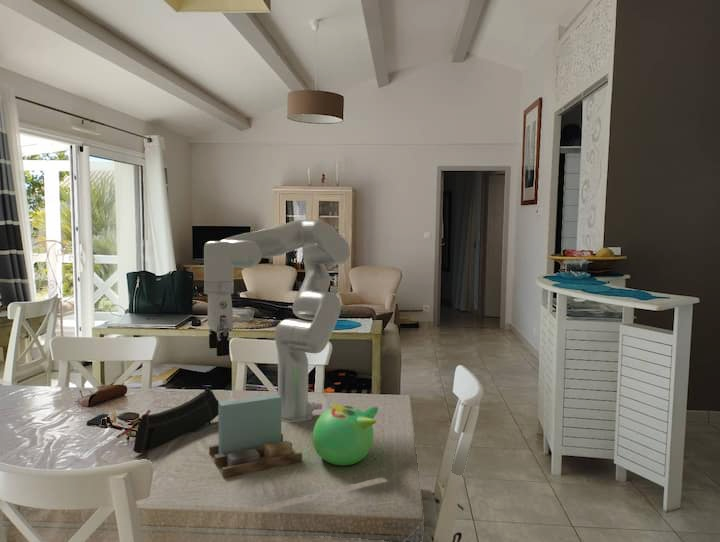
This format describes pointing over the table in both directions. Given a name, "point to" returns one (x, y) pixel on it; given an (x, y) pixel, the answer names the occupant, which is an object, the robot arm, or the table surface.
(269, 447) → the offcut
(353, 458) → the toy bird
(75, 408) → the table surface
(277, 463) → the rack
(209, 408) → the magazine
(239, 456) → the offcut
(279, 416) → the panel
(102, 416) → the phone
